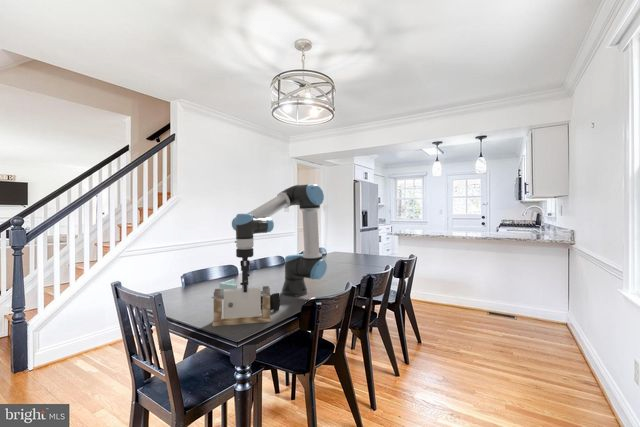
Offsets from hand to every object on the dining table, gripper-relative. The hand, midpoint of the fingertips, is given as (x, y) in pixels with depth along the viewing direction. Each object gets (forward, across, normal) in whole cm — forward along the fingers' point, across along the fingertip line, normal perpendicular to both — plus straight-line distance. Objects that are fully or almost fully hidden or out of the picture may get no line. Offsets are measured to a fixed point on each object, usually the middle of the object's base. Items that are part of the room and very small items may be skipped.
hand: (245, 295), depth 139 cm
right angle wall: (+13, -48, -7) cm, 50 cm away
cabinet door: (+9, 0, -1) cm, 9 cm away
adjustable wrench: (+13, -22, +9) cm, 27 cm away
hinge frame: (+12, 0, -1) cm, 12 cm away
